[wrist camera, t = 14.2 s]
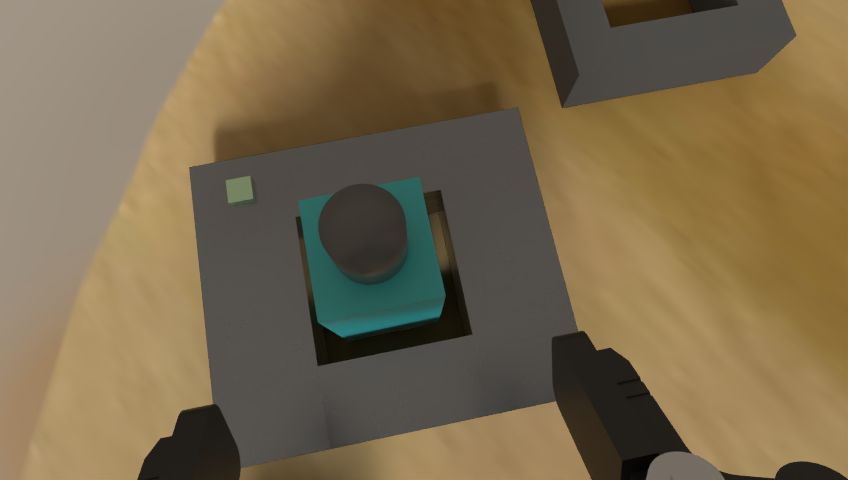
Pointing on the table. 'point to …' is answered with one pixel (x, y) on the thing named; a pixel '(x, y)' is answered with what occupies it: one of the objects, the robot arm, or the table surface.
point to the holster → (656, 46)
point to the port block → (396, 370)
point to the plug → (372, 259)
